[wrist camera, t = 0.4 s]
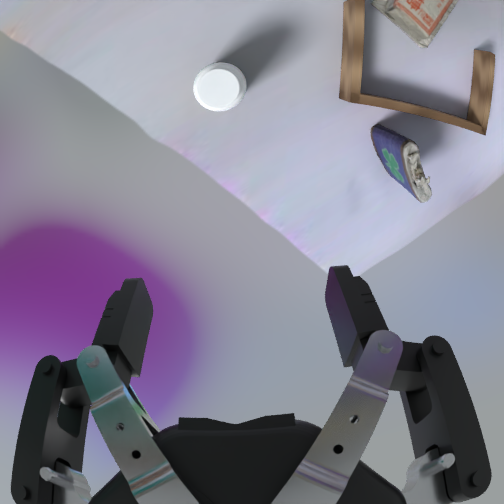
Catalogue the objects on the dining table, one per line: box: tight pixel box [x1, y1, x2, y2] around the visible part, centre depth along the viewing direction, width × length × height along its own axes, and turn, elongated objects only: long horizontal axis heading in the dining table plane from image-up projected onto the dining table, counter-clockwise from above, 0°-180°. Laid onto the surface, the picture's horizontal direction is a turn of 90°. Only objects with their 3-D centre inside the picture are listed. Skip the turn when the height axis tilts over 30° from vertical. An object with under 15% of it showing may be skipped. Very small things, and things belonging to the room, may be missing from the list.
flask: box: [371, 124, 432, 203], centre depth 33 cm, size 9×3×11 cm, turn 35°
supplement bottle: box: [193, 62, 246, 111], centre depth 27 cm, size 5×5×10 cm
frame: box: [339, 0, 495, 135], centre depth 27 cm, size 14×24×4 cm, turn 89°
